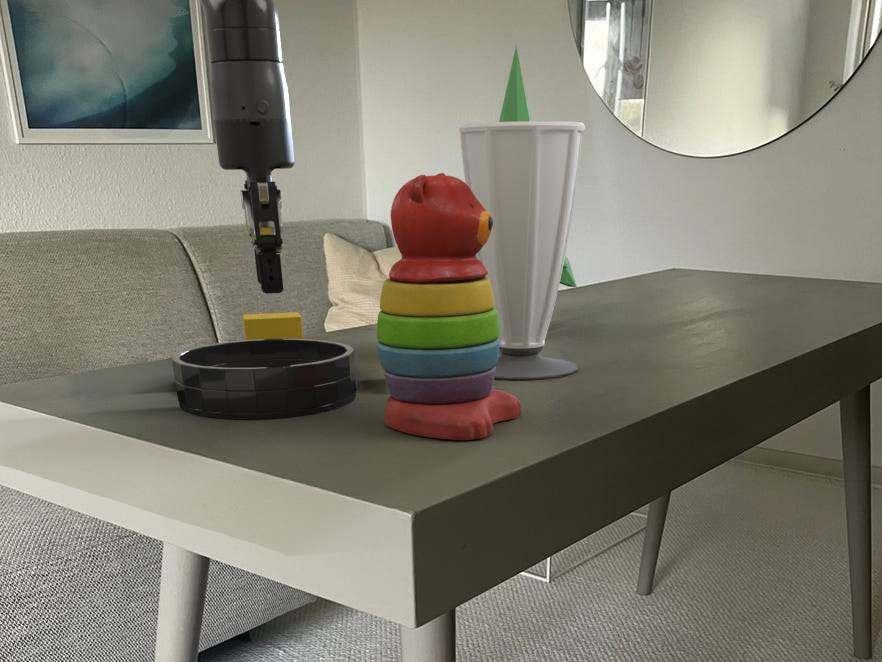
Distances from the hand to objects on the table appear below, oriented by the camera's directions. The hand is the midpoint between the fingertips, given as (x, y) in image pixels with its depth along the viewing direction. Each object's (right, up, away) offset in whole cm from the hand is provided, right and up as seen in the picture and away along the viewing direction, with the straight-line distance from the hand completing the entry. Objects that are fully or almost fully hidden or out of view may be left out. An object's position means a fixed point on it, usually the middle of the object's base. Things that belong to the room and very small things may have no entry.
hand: (270, 288), depth 105 cm
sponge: (0, -6, +3) cm, 7 cm away
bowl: (+4, -16, -19) cm, 25 cm away
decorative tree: (+27, 0, +14) cm, 30 cm away
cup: (+26, -11, -7) cm, 29 cm away
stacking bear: (+20, -20, -27) cm, 39 cm away
